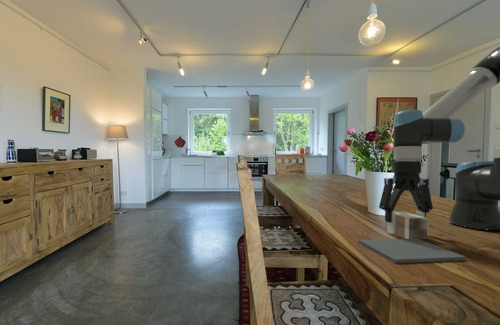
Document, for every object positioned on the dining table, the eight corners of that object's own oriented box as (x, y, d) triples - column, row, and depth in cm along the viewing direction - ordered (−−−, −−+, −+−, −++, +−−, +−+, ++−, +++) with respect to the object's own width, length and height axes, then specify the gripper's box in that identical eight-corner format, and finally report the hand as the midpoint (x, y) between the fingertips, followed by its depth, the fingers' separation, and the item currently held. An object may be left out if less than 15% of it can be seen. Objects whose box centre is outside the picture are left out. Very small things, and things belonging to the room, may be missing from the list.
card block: (402, 230, 85) (402, 211, 85) (427, 239, 75) (427, 217, 75) (385, 230, 84) (386, 211, 84) (408, 239, 74) (409, 217, 74)
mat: (417, 241, 73) (417, 238, 73) (465, 260, 59) (465, 256, 59) (358, 243, 70) (358, 240, 70) (394, 263, 56) (395, 259, 56)
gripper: (428, 161, 85) (426, 228, 85) (367, 160, 82) (365, 229, 82) (448, 161, 78) (447, 235, 78) (382, 159, 74) (380, 236, 75)
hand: (405, 232), depth 80 cm, fingers open, 9 cm apart
